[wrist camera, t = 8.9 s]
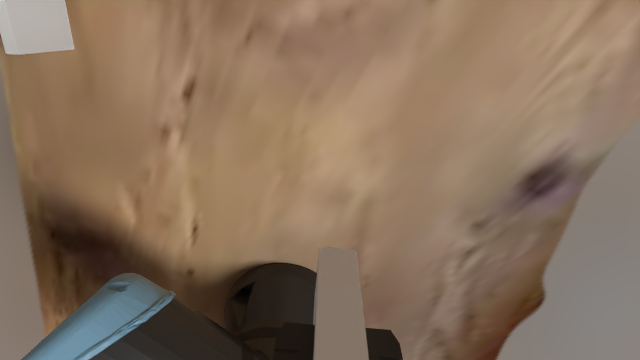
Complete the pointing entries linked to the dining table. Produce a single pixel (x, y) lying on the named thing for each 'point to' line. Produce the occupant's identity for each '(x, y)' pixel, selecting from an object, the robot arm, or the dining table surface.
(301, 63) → the dining table surface
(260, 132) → the dining table surface
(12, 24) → the door
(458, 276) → the dining table surface
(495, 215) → the dining table surface
